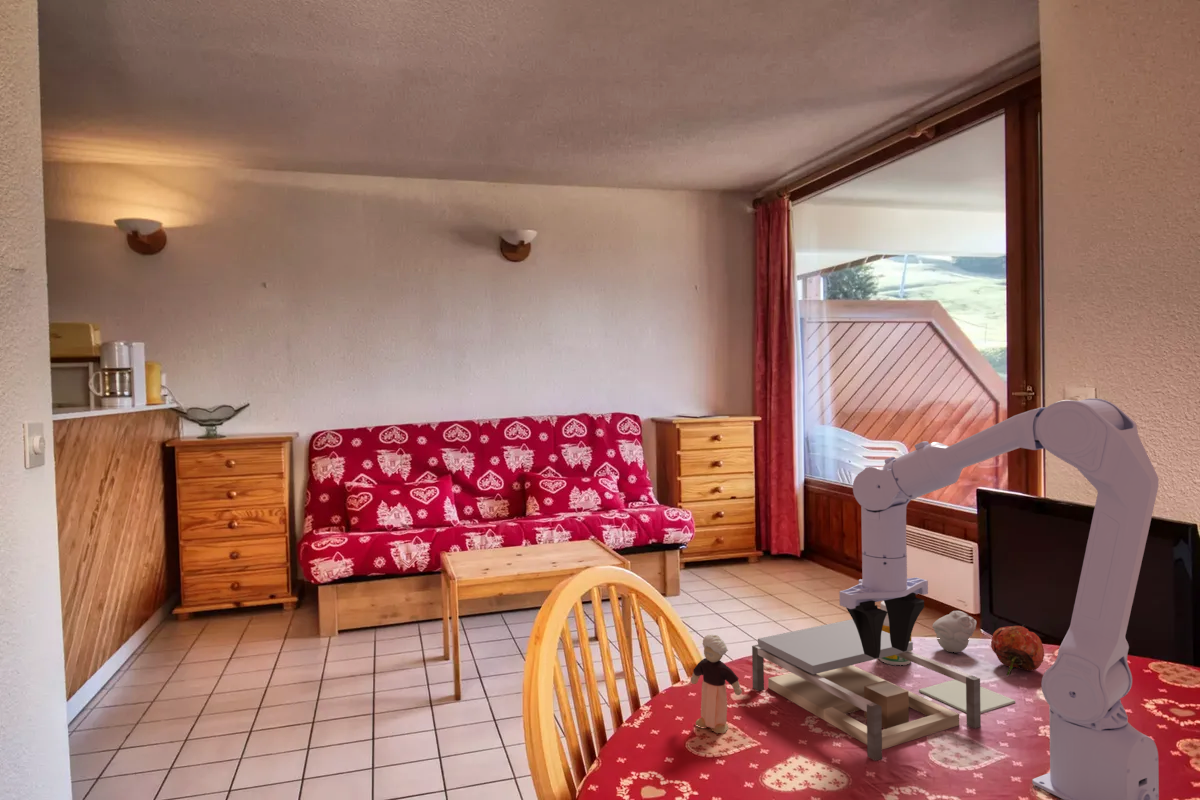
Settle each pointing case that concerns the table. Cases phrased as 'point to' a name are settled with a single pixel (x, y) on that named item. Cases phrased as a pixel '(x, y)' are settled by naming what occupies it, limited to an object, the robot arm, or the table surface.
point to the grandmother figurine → (714, 684)
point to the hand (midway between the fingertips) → (885, 652)
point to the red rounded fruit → (1018, 648)
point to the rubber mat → (956, 696)
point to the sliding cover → (825, 647)
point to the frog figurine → (954, 631)
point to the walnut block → (889, 702)
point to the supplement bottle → (893, 658)
